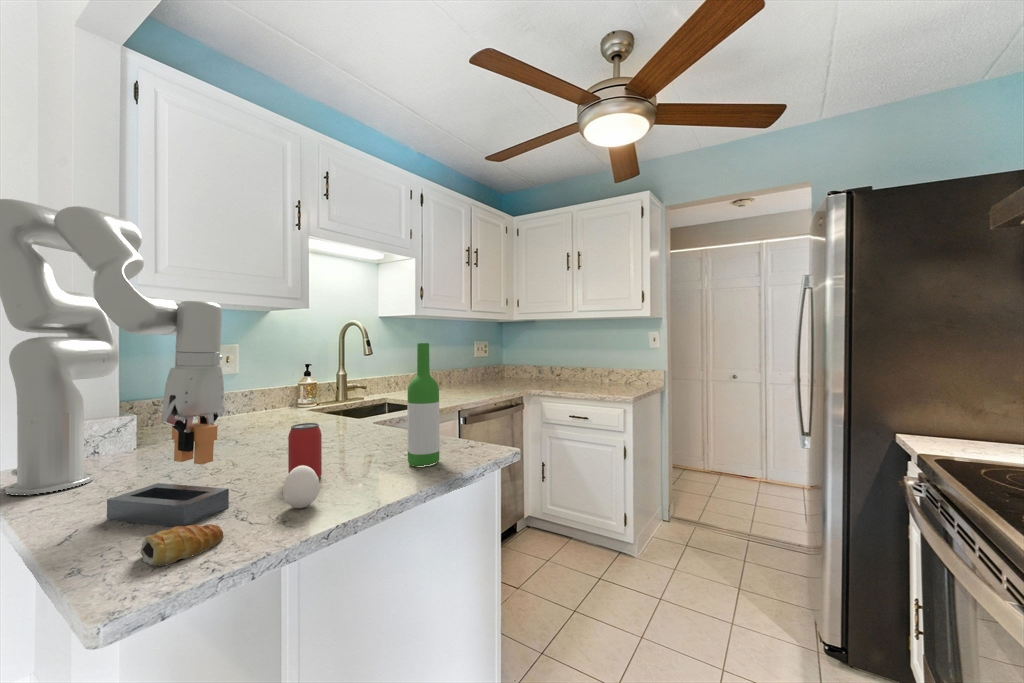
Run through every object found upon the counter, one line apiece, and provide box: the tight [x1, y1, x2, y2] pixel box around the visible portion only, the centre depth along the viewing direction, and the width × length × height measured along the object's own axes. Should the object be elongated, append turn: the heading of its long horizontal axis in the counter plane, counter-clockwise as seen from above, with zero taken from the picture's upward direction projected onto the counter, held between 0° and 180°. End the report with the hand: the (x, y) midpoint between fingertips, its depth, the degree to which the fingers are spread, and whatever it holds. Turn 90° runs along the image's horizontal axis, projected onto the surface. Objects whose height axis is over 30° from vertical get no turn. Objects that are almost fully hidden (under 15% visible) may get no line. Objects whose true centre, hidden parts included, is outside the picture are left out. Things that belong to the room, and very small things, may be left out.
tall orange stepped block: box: [171, 422, 218, 465], centre depth 88 cm, size 8×3×8 cm, turn 79°
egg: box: [282, 465, 321, 509], centre depth 77 cm, size 6×6×8 cm
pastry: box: [139, 523, 225, 567], centre depth 61 cm, size 9×7×4 cm
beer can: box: [287, 422, 323, 479], centre depth 93 cm, size 7×7×12 cm
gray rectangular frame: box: [106, 482, 230, 528], centre depth 75 cm, size 16×8×4 cm, turn 79°
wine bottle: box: [406, 342, 441, 466], centre depth 105 cm, size 8×8×30 cm
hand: (194, 447), depth 88 cm, fingers closed on tall orange stepped block, 3 cm apart
